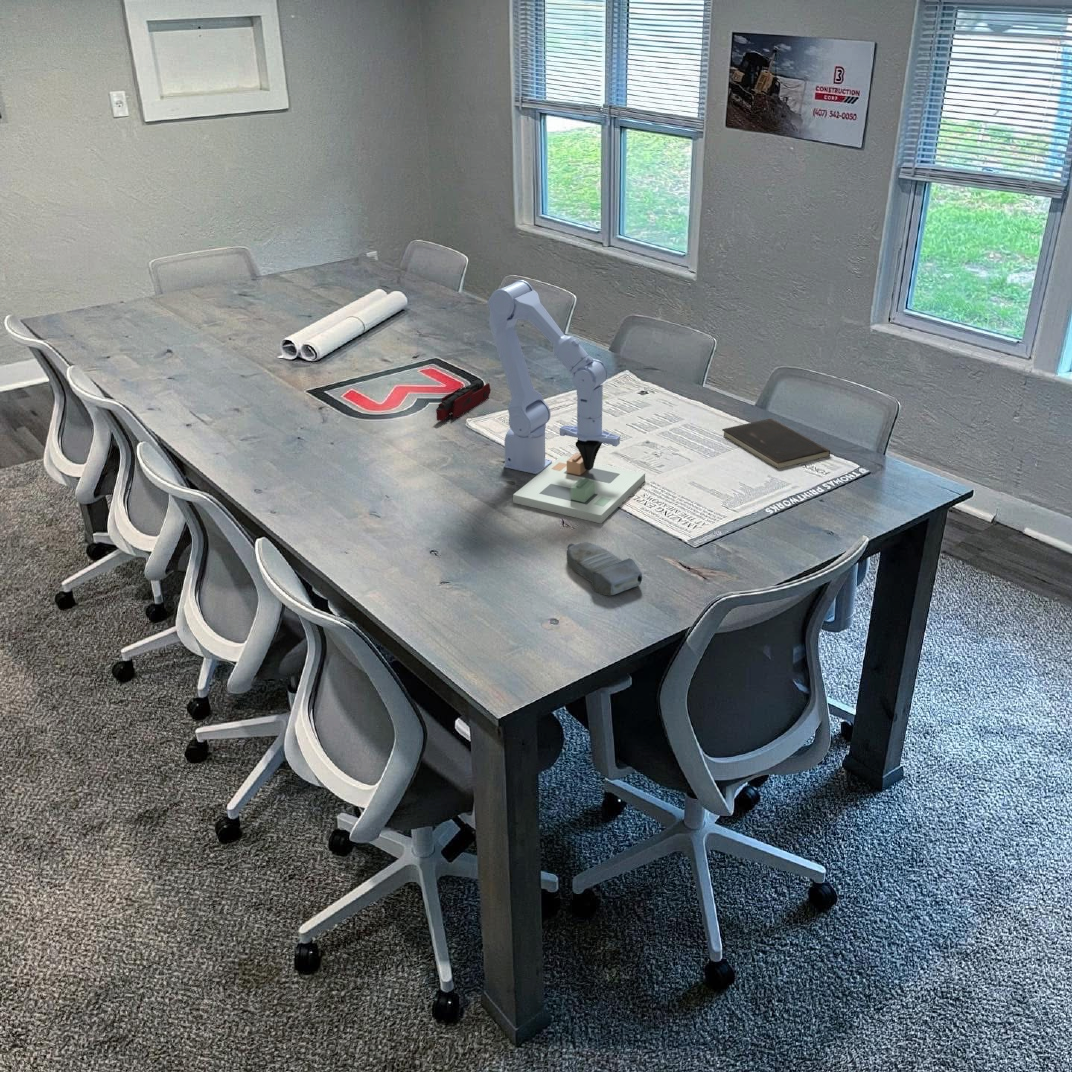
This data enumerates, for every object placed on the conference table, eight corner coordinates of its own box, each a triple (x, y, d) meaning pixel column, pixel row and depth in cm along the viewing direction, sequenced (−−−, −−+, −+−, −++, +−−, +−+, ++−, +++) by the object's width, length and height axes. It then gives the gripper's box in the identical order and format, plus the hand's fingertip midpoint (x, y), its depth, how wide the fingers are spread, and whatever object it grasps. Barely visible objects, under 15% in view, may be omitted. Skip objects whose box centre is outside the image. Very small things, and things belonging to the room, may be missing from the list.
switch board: (513, 502, 239) (513, 494, 238) (562, 462, 257) (562, 455, 256) (600, 523, 230) (601, 515, 229) (644, 480, 248) (645, 472, 247)
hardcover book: (777, 471, 253) (778, 462, 252) (721, 437, 271) (722, 429, 270) (829, 458, 259) (831, 449, 258) (772, 425, 277) (772, 417, 276)
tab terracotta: (566, 472, 247) (566, 458, 246) (576, 464, 251) (576, 450, 250) (579, 475, 246) (580, 461, 244) (589, 467, 250) (589, 453, 248)
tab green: (570, 499, 235) (570, 484, 233) (580, 490, 239) (580, 476, 237) (584, 502, 234) (584, 487, 232) (594, 493, 238) (594, 479, 236)
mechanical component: (446, 426, 280) (445, 406, 277) (432, 422, 281) (431, 403, 279) (491, 397, 297) (491, 378, 295) (477, 394, 299) (477, 375, 296)
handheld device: (587, 546, 221) (587, 527, 219) (647, 588, 207) (648, 567, 204) (549, 559, 217) (549, 540, 215) (608, 603, 202) (608, 582, 200)
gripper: (553, 414, 240) (553, 468, 247) (611, 425, 234) (610, 480, 241) (567, 404, 246) (567, 457, 252) (624, 414, 240) (622, 469, 246)
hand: (589, 468), depth 247 cm, fingers closed
